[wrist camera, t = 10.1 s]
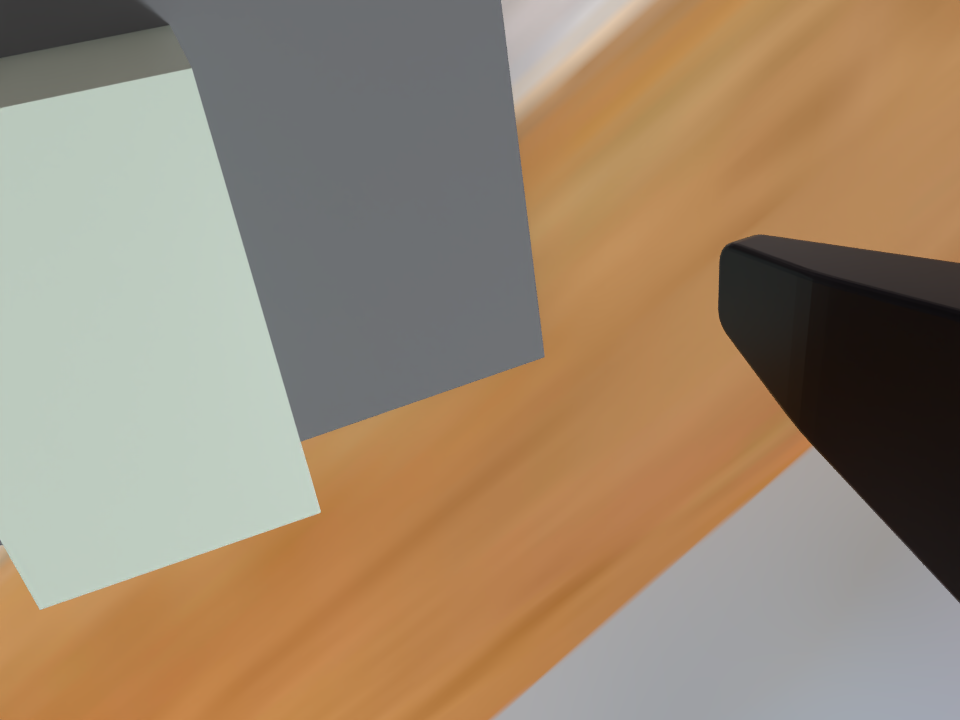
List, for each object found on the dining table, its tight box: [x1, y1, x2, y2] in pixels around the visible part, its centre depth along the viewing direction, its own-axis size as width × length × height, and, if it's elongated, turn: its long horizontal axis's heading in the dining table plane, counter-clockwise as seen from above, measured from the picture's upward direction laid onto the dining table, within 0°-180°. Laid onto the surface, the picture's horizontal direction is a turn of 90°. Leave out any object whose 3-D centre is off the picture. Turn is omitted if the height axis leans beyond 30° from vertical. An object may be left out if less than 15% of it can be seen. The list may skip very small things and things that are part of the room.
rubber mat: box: [0, 0, 544, 545], centre depth 18 cm, size 19×11×1 cm, turn 100°
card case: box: [0, 25, 321, 610], centre depth 17 cm, size 9×6×4 cm, turn 8°
